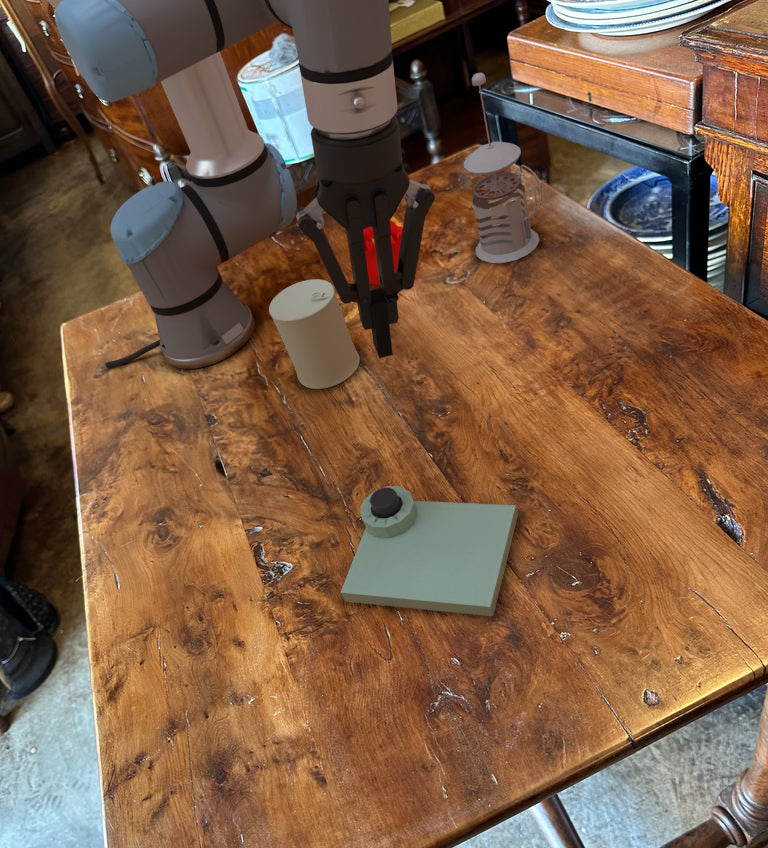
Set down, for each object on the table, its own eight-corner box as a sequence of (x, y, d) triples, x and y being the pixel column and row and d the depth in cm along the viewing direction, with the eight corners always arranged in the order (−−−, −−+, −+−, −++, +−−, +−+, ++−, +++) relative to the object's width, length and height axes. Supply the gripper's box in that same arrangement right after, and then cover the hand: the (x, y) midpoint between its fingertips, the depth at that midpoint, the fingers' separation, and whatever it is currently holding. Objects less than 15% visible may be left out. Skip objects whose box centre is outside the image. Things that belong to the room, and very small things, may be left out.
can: (352, 386, 107) (324, 313, 99) (290, 391, 110) (258, 321, 102) (365, 344, 113) (340, 271, 105) (307, 350, 116) (277, 280, 108)
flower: (424, 271, 122) (412, 224, 116) (391, 299, 119) (376, 252, 113) (389, 261, 127) (375, 216, 121) (356, 288, 124) (340, 242, 118)
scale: (341, 601, 83) (330, 581, 81) (378, 505, 91) (369, 485, 88) (493, 616, 77) (487, 596, 74) (519, 512, 85) (514, 490, 82)
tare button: (370, 518, 86) (366, 507, 84) (378, 497, 87) (374, 486, 86) (396, 519, 84) (392, 508, 83) (404, 498, 86) (400, 487, 85)
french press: (494, 224, 125) (464, 58, 108) (561, 230, 119) (541, 54, 101) (463, 259, 121) (426, 91, 103) (531, 267, 115) (504, 90, 97)
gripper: (284, 155, 63) (329, 384, 81) (440, 122, 64) (452, 355, 82) (271, 119, 68) (317, 342, 86) (417, 89, 69) (432, 316, 87)
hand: (383, 349), depth 84 cm, fingers closed
